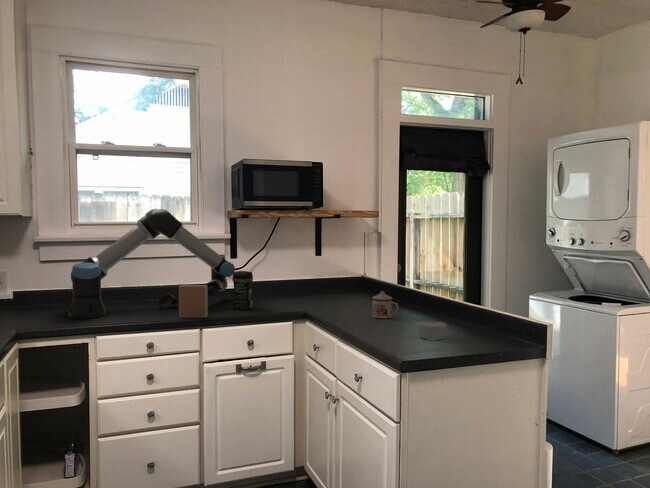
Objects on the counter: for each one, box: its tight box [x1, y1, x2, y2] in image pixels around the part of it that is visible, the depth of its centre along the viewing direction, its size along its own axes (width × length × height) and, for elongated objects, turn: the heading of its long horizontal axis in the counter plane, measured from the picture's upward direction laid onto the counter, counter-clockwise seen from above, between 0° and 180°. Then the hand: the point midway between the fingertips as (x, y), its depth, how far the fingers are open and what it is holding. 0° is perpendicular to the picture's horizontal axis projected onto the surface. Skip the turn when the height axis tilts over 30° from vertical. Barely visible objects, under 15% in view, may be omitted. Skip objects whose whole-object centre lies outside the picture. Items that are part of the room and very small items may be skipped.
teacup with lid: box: [371, 291, 399, 319], centre depth 226 cm, size 12×9×12 cm
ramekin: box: [416, 320, 448, 339], centre depth 190 cm, size 11×11×5 cm
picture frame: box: [178, 284, 209, 318], centre depth 228 cm, size 12×3×14 cm, turn 87°
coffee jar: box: [231, 270, 254, 311], centre depth 247 cm, size 10×8×19 cm
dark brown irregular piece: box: [156, 292, 179, 309], centre depth 251 cm, size 12×10×8 cm
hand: (199, 295), depth 237 cm, fingers closed
